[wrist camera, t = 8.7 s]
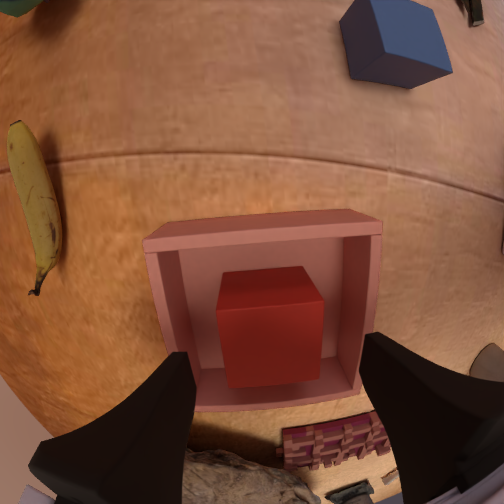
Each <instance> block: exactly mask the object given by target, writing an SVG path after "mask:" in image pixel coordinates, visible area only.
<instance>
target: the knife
mask: <svg viewBox="0 0 504 504" xmlns="http://www.w3.org/2000/svg"><path fill="white" fill-rule="evenodd" d="M461 1H462V2H463V4H464V6H465V8H466V9H467V11H468V13H470V7H469V0H461ZM470 1H471V10H472V23H473V26H474V25H479V24H484V17H483V10H482V4H481V0H470Z"/></svg>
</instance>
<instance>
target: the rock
mask: <svg viewBox="0 0 504 504" xmlns="http://www.w3.org/2000/svg"><path fill="white" fill-rule="evenodd" d="M182 504H321V500H320V498H319V496H317V495H315V494H313V492H312V491H311V490H310V488H309V487H308V485H307V483H305V482H303V481H302V480H301V478H300V477H298V476H294V475H292V474H291V473H289V472H288V471H286V470H281V469H277V468H271V467H265V466H262V465H261V464H258V463H255V462H250V461H246V460H244V459H242V458H241V457H239V456H238V455H236V454H234V453H231V452H228V451H225V450H221V449H217V450H215V451H212V450H205V451H203V452H197V453H194V452H193V451H191V450H190V449H188V448H187V447H186V451H185V458H184V468H183V483H182Z"/></svg>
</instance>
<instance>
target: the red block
mask: <svg viewBox="0 0 504 504" xmlns="http://www.w3.org/2000/svg"><path fill="white" fill-rule="evenodd" d="M324 303H325V301H324V299H323V298H322V296H321V294H320V293H319V291H318V290H317V288H316V286H315V285H314V283H313V282H312V280H311V278H310V277H309V275H308V274H307V272H306V270H305V269H304V267H303V266H295V267H283V268H272V269H260V270H248V271H235V272H224V273H223V274H222V279H221V284H220V290H219V295H218V300H217V306H216V311H215V312H216V318H217V325H218V331H219V337H220V343H221V349H222V355H223V361H224V367H225V372H226V378H227V383H228V387H229V388H244V387H258V386H270V385H280V384H288V383H296V382H304V381H311V380H317V379H319V376H320V366H321V354H322V340H323V324H324Z"/></svg>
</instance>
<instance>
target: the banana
mask: <svg viewBox="0 0 504 504" xmlns="http://www.w3.org/2000/svg"><path fill="white" fill-rule="evenodd" d="M7 155H8V162H9V166H10V169H11V173H12V176H13V180H14V183H15V186H16V189H17V192H18V195H19V197H20V200H21V204H22V207H23V210H24V214H25V217H26V220H27V224H28V228H29V231H30V235H31V238H32V243H33V247H34V250H35V257H36V263H37V274H36V281H35V290H32V289H31V291H29V293H28V295H30V294H34V295H35V296H39V295H40V288H41V285H42V283H43V281H44V279H45V277H46V275H47V274H48V272H49V271H50V270H51V269H52V268H53V267H55V265H56V264H57V262H58V260H59V257H60V253H61V248H62V225H61V217H60V212H59V207H58V203H57V200H56V196H55V192H54V189H53V186H52V182H51V179H50V177H49V174H48V171H47V168H46V165H45V162H44V159H43V156H42V153H41V150H40V147H39V145H38V142H37V140H36V138H35V136H34V135H33V133H32V132H31V130H30V129H29V128H28V126H27V125H26V124H25V123H23V122H22V121H21V120H18V121H16V122H15V123H13V124H11V125H10V129H9V132H8V138H7Z"/></svg>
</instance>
